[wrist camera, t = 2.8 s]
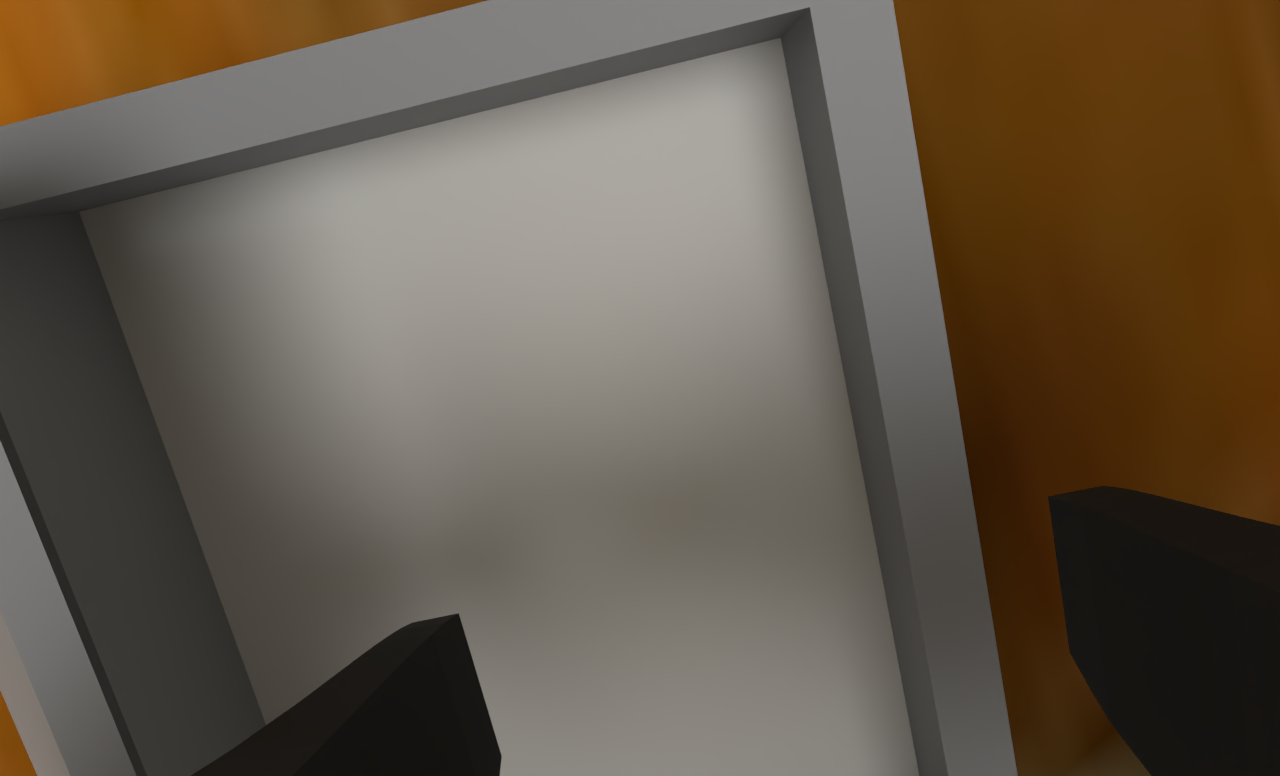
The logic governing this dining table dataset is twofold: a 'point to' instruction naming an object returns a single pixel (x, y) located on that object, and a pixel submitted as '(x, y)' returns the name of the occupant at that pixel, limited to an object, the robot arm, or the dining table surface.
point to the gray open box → (512, 390)
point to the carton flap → (48, 657)
